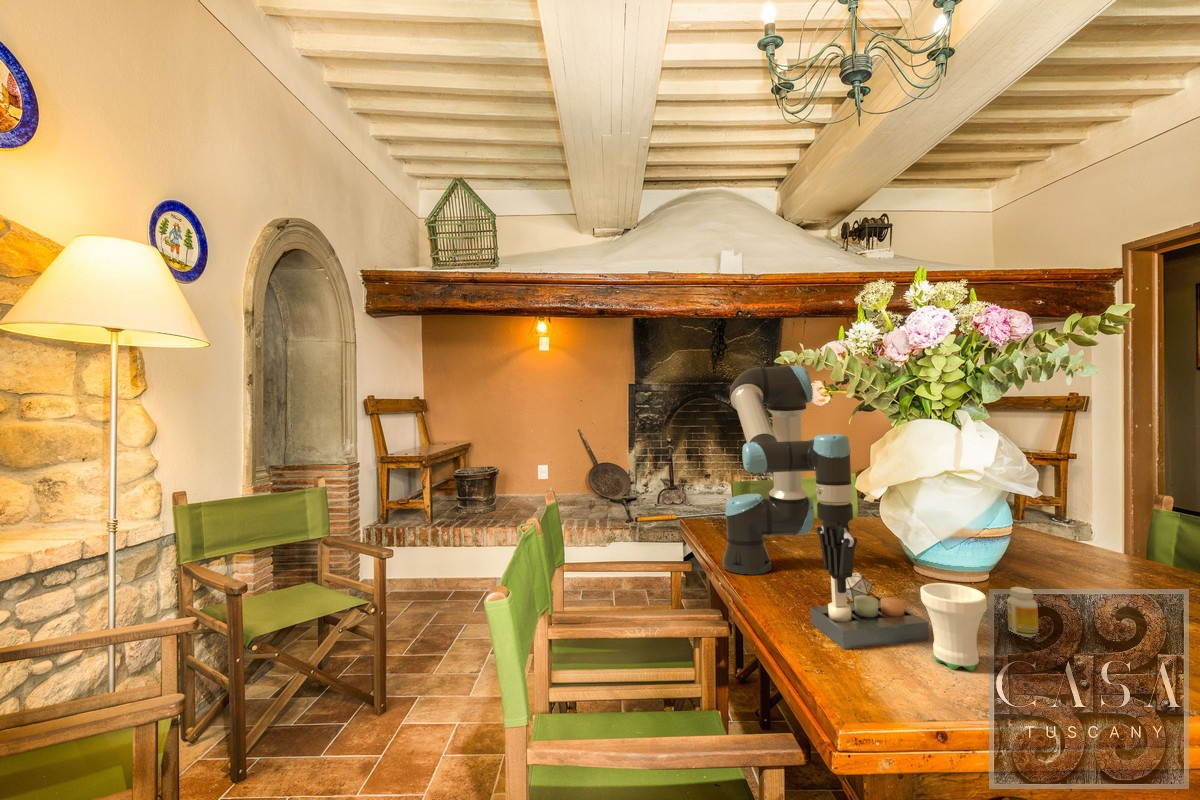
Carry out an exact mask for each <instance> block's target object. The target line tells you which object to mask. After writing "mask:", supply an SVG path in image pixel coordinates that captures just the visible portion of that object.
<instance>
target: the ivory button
mask: <svg viewBox="0 0 1200 800" xmlns="http://www.w3.org/2000/svg"><path fill="white" fill-rule="evenodd" d="M827 605H828V612H829V619H831V620H832V621H833V622H835V623H838V622H848V621H852V616H851V606H850V605H848V603H847V606H840V607H835V606H834V605H832V602H828V604H827Z"/></svg>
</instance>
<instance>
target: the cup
mask: <svg viewBox="0 0 1200 800" xmlns="http://www.w3.org/2000/svg"><path fill="white" fill-rule="evenodd" d="M920 600H921V602H922V603H923V605H924V606H925V609H926V611H927V613H928V617H929V619H930V623H931V626H932V627H931V628H932V631H933V639H934V640H933V645H932V651H933V652H932V653H933V658H934V660H935V662H937V663H939V664H943V663H944V664H945V665H946V666H947V668H949V669H951V670H958V669H959V668H961V667H963V668H964V669H965V670H966V671H967V670H968V671H970V672H971V671H975V668H976V667H977V665H978V664H979V663H980V661H979V660H980V659H979V650H978V649H977V648H978V647H977V645H978V644H977V643H978V641H977V640H978V630H979V627H980V625H981V624H980V623H981V621H982V617H983V615H984V614H985V613H986V612H987V610H988V609H987V606H988V605H987V596H986V594H984V593H983V592H982V591H980V590H978V589H976V588H974V587H970V586H967V585H961V584H957V583H946V582H935V583H934V582H933V583H927V584H924V585H922V586H921V587H920Z"/></svg>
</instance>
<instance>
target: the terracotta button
mask: <svg viewBox="0 0 1200 800" xmlns="http://www.w3.org/2000/svg"><path fill="white" fill-rule="evenodd" d="M880 600H881V613H883V614H884V615H886V616H888V617H899V616H905V610H906V609H905V601H904V600H902V599H900V598H897V597H889V596H888V597H881V598H880ZM904 609H905V610H904Z"/></svg>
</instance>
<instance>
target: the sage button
mask: <svg viewBox="0 0 1200 800" xmlns="http://www.w3.org/2000/svg"><path fill="white" fill-rule="evenodd" d="M854 601H855V613H856V614H858V615H860V616H864V617H876V616H878V601H879V600H878V599H877V598H876V597H873V596H872V595H870V596H866V595H859V596H855V597H854Z"/></svg>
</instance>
